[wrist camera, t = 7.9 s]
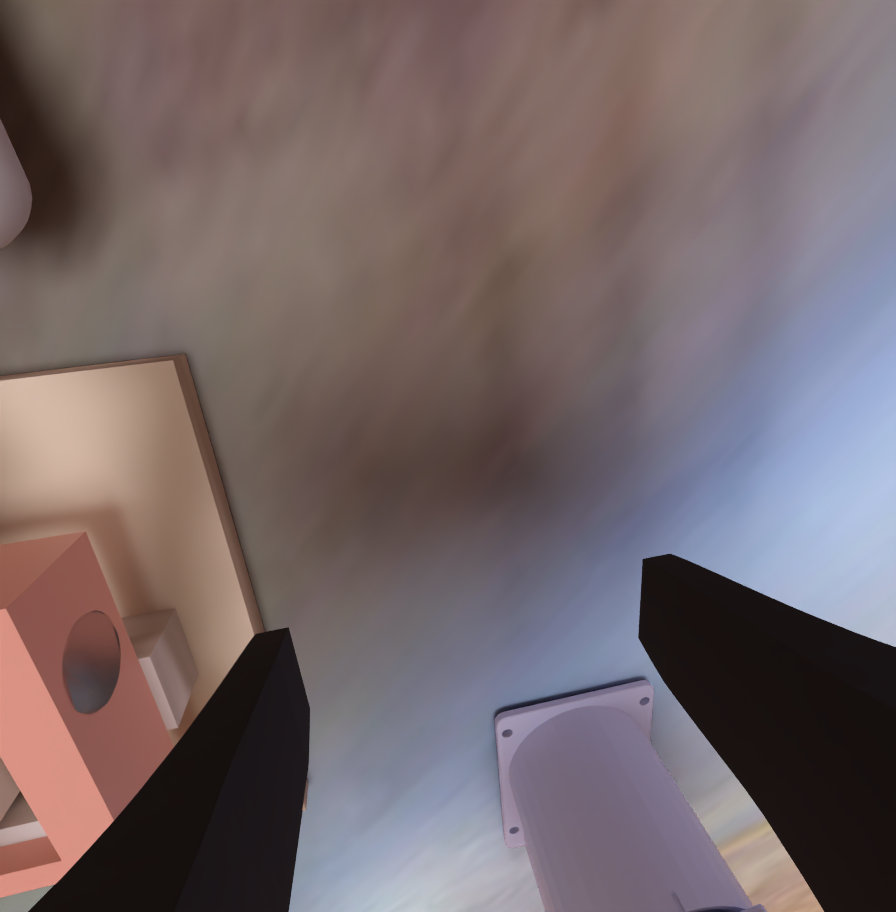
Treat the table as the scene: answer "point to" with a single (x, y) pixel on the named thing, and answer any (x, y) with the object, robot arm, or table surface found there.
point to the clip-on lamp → (12, 192)
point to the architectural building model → (131, 524)
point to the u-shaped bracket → (68, 705)
